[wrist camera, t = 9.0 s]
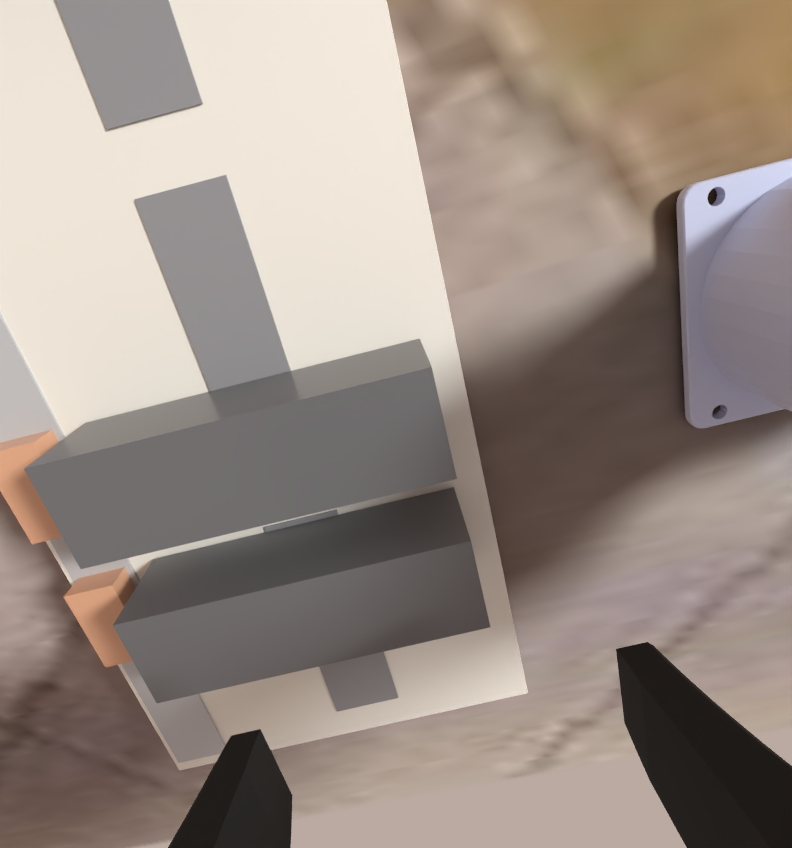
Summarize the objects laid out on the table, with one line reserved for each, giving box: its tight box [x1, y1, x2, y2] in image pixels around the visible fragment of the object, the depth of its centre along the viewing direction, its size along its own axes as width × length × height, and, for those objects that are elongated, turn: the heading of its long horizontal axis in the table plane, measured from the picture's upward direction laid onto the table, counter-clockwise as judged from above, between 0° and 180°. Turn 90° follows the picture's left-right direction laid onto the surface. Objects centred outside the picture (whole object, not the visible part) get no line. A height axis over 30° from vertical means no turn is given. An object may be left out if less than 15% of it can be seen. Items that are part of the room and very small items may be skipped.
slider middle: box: [24, 339, 457, 569], centre depth 15 cm, size 10×3×3 cm, turn 104°
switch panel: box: [0, 0, 528, 771], centre depth 16 cm, size 14×31×3 cm, turn 14°
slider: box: [113, 487, 490, 703], centre depth 16 cm, size 10×3×3 cm, turn 104°
